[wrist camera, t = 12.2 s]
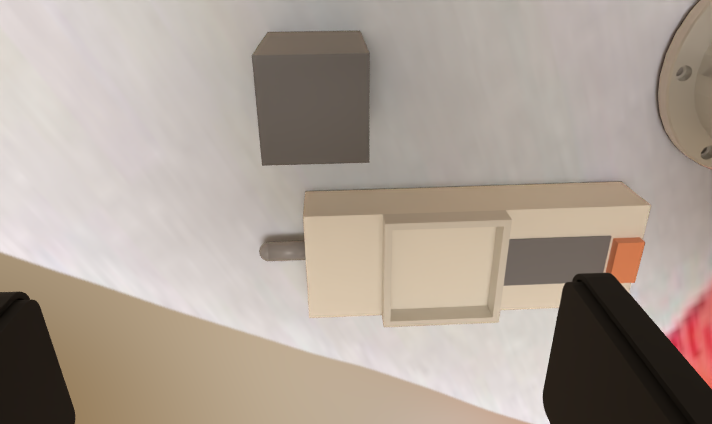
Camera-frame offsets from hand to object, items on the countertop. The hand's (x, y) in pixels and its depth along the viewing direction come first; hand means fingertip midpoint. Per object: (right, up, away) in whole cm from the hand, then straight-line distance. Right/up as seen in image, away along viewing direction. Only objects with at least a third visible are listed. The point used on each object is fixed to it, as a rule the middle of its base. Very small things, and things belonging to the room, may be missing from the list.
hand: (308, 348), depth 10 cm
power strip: (+6, +1, +25) cm, 26 cm away
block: (-1, +10, +20) cm, 23 cm away
